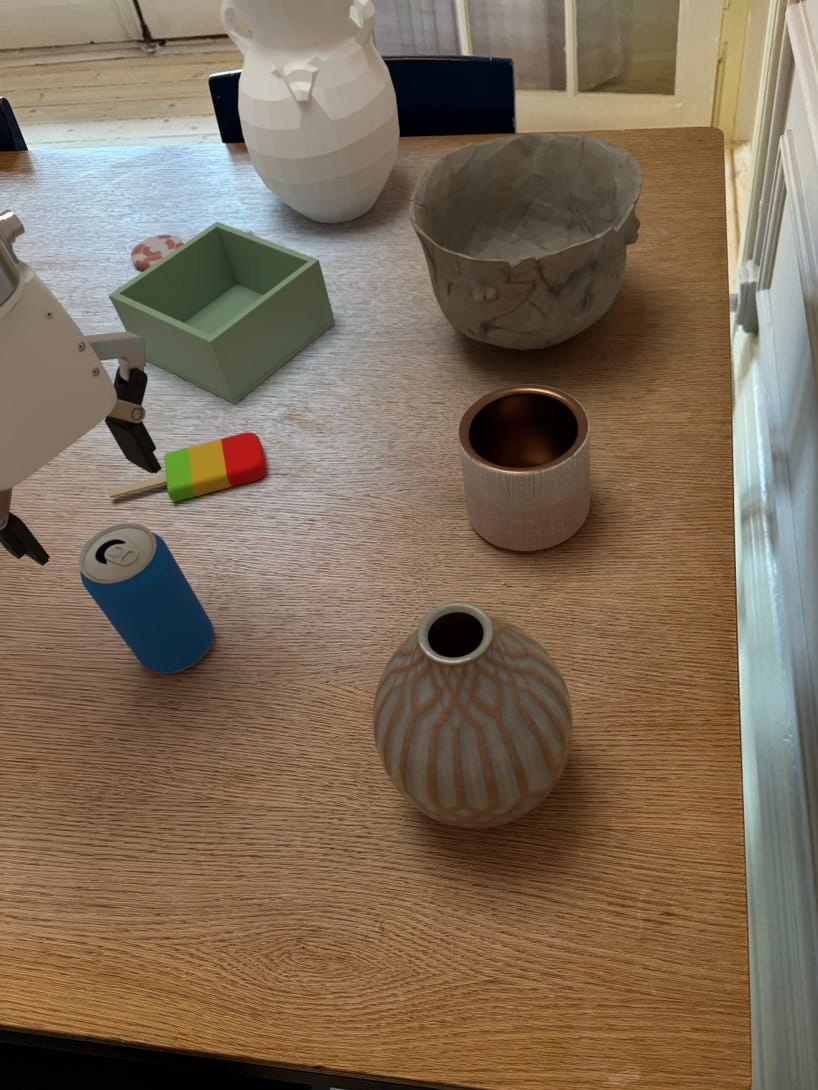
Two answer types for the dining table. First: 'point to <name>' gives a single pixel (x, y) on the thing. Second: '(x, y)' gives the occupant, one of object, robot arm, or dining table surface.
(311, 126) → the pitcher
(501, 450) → the planter
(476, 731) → the vase
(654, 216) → the dining table surface
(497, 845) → the dining table surface
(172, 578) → the beverage can
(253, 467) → the popsicle
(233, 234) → the bin
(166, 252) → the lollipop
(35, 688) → the dining table surface
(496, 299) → the bowl
